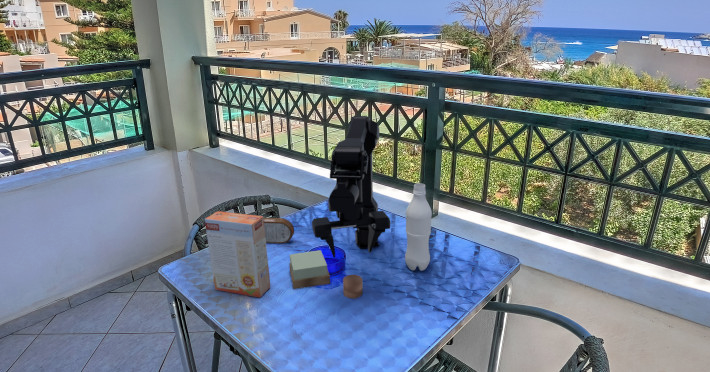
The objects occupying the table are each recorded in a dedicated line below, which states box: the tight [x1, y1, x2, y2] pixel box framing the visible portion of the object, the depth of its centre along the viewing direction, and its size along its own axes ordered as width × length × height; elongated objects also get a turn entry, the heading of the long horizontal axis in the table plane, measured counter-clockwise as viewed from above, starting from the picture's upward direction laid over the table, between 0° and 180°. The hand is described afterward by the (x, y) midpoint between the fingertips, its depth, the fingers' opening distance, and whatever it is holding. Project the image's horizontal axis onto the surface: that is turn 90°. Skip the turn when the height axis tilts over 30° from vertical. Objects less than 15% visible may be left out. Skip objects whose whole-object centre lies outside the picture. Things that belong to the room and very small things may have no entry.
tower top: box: [289, 249, 328, 280], centre depth 116 cm, size 9×9×3 cm
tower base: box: [288, 262, 331, 290], centre depth 117 cm, size 10×10×3 cm
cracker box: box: [204, 210, 271, 298], centre depth 109 cm, size 14×6×21 cm, turn 71°
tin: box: [263, 217, 295, 245], centre depth 137 cm, size 15×3×8 cm, turn 84°
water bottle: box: [404, 182, 433, 272], centre depth 117 cm, size 7×7×25 cm
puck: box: [342, 274, 364, 299], centre depth 109 cm, size 5×5×4 cm
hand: (351, 254), depth 106 cm, fingers open, 9 cm apart
